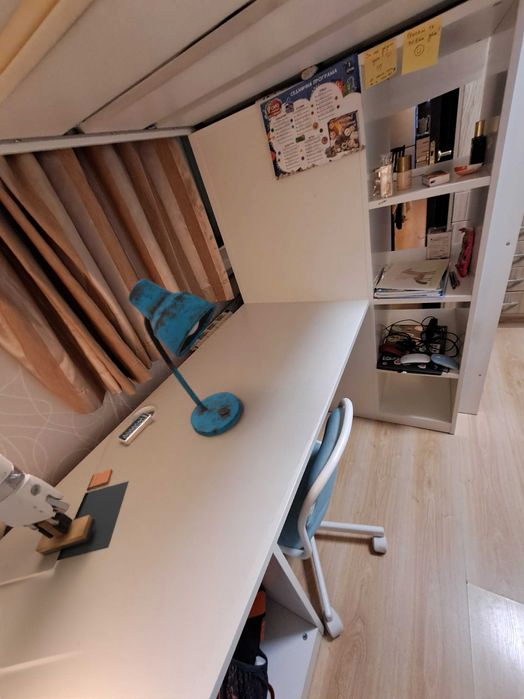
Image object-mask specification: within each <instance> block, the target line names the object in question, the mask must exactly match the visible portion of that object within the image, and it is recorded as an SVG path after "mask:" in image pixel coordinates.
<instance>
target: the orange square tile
mask: <svg viewBox="0 0 524 699" xmlns="http://www.w3.org/2000/svg"><path fill="white" fill-rule="evenodd" d="M113 472H114V471H113V469H112V468H110V469H106V470H104V471H101V472H98V473H96V474H97V477H96V480H95V483H94V485H93V486H94V487H95V488H94V489H97V488H100V487H102V486H105V485H109V484H110V481H111V477H112V475H113Z"/></svg>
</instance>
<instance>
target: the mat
mask: <svg viewBox="0 0 524 699" xmlns="http://www.w3.org/2000/svg"><path fill="white" fill-rule="evenodd" d="M129 482H130V481H129V480H127V481H124V482H121V483H116V484H113V485H109V486H106V487H102V488H99V489H95V490H90V491H87V492H85V493H84V495H83V497H82V500H81V502H80V504H79V507H78V509H77V511H76V513H75V516H74V518H73V520H75V519H78V518H81V517H84V516H87V515H90V516H91V517H92V518H93V519H94V520H95V523H94V526H93V530H92V533H91V536H90V539H89V540H88V541H85V542H82V543H79V544H76V545H73V546H70V547H66V548H63V549H60V550H59V553H58V555H57V558H56V560H55V561H56V562H59V561H62V560H66V559H70V558H74V557H77V556H81V555H86V554H89V553H93V552H98V551H100V550H105V549H108V548H109V547H110V544H111V541H112V537H113V534H114V531H115V527H116V525H117V522H118V518H119V515H120V511H121V509H122V506H123V502H124V498H125V495H126V493H127V489H128V486H129Z"/></svg>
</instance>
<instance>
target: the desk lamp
mask: <svg viewBox="0 0 524 699" xmlns="http://www.w3.org/2000/svg"><path fill="white" fill-rule="evenodd" d="M127 297H128V303H129V304H130V305H131V306H133V307H134V308H135V309H136V310H137V311H138V312H139V313H140V314H142V316H144V317H143V326H144V328H145V330H146V333H147V334H148V336H149V338H150V340H151V342H152V344H153V345H154V347H155V349H156V351H157V352H158V353H159V355H160V356H161V358H162V359H163V362H165V364H166V365H167V367H168V368H169V370H170V371H171V373H172V374H173V375H174V377H175V379H176V380H177V381H178V383H179V384H180V385H181V386H182V388H183V389H184V391H185V392H186V393H187V395H188V396H189V397H190V399H191V400H192V401H193V403H194V404H195V405H196V406H195V407H194V409H193V410H192V412H191V416H190V424H191V426H192V429H193V430H194V432H195V433H196V434H198V435H200V436H203V437H213V436H217V435H220V434H222V433H225V432H226V431H228V430H230V429H231V428H232V427H233V426H234V425H235V424H236V423H237V422H238V420H239V419H240V416H241V414H242V409H243V408H242V403H241V401H240V399H239V397H237V396H236V395H235V394H233V393H232V392H227V391H226V392H218V393H217V392H216V393H214V394H211V395H209V396H207V397H205V398H204V399H202V400H201V399H200V398H199V397H198V396H197V394H196V392H195V391H194V390H193V389H192V388H191V387H190V385H189V384H188V382H187V381H186V380H185V378H184V376H183V375H182V374H181V373H180V371H179V370H178V368H177V367H176V365H175V364H174V362H173V360H171V358H170V356H169V354H168V353H167V351H166V350H165V348H167V350H168V351H170V352H171V353H172V354H173V355H174V357H176V359H180V358H182V357H183V356H184V355H185V354H186V353H187V352H188V351H189V350H190V349H191V348H192V347H193V346H194V344H195V343H196V342H197V341H198V339H199V337H201V335H202V334H203V332H204V331H205V330H206V328H207V326H208V325H209V324H210V322H211V320H212V318H213V316H214V314H215V312H216V309H217V305H216V304H215V303H213V302H210V301H209V300H207V299H205V298H203V297H200V296H198V295H196V294H194V293H192V292H189V291H187V290H183V291H179V292H172V291H170V290H168V289H166V288H164V287H162V286H161V285H158V284H157V283H155V282H153V281H151V280H149V279H147V278H143V279H140V280H138V281H137V282H136V283H135V284H134V285H133V286H132V288H131V289H130V291H129V293H128V296H127ZM163 346H164V347H165V348H164V347H163Z"/></svg>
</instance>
